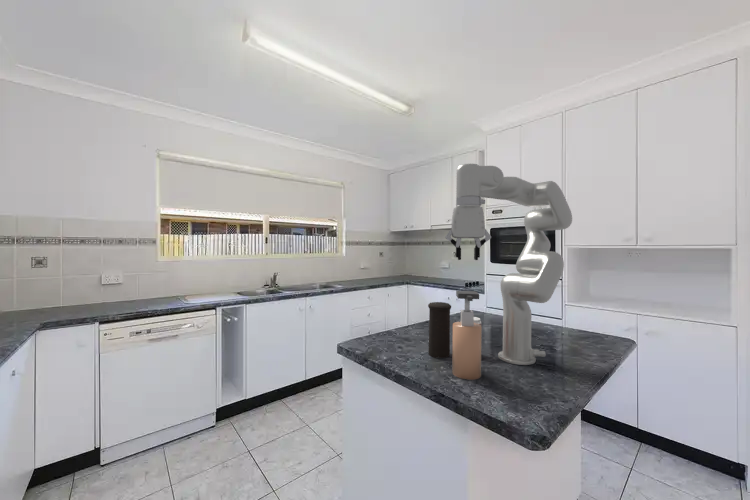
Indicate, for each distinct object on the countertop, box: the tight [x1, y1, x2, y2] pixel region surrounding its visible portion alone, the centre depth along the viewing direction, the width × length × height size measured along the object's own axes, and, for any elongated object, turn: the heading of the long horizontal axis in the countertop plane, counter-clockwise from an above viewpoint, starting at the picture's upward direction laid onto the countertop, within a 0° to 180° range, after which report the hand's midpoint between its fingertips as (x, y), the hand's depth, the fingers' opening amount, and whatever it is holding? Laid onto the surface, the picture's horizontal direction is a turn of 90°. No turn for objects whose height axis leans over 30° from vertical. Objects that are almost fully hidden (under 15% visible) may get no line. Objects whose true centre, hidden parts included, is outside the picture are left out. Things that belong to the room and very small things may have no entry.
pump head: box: [455, 290, 480, 312], centre depth 101 cm, size 6×10×6 cm, turn 171°
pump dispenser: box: [451, 309, 483, 381], centre depth 103 cm, size 9×9×20 cm
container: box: [427, 301, 452, 359], centre depth 121 cm, size 9×9×20 cm
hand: (467, 259), depth 103 cm, fingers open, 4 cm apart
